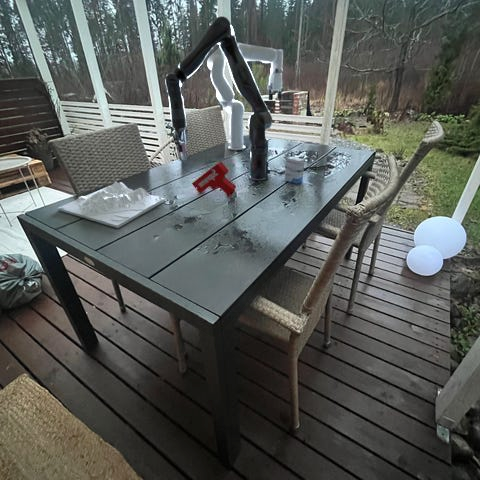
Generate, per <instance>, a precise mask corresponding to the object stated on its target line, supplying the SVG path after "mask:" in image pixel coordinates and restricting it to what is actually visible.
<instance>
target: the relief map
mask: <svg viewBox="0 0 480 480" xmlns="http://www.w3.org/2000/svg"><path fill="white" fill-rule="evenodd" d="M164 202H166V198H165V197H162V196H157V195H153V194H150V193H149V192H148V191H147V190H145V189H144V188H143V187H138V188H136V189H132V188H129V187H128V186H126V184H125V183H123V182H122V181H119V182H118V181H117V180H115V181H114V182H113V183H112V184H111V185H107V186H106V187H103V188H101V189H99V190H97V191H93V192H92V193H89V194H87V195H80V196H79V197H78V198H76V199H75V200H73V201H70V202H68V203H65V204H64V205H61V206H59V207H57V209H58V211H60V212H63V213H67V214H70V215H73V216H76V217H79V218H83V219H86V220H89V221H94V222H96V223H100V224H102V225H106V226H109V227H112V228H116V229H119V228H121V227H123V226H124V225H126V224H128V223H130V222H131V221H134V220H135V219H137V218H139V217H141V216H142V215H143V214H145V213H147V212H149V211H151V210H152V209H154V208H156V207H158V206H159V205H161V204H163V203H164Z"/></svg>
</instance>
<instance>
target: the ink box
mask: <svg viewBox="0 0 480 480" xmlns="http://www.w3.org/2000/svg"><path fill="white" fill-rule="evenodd" d="M305 162H306V159H304V158H299V157H294V156H290V157H289V156H288V157H286V158H285V169H284V171H285V172H284V181H285V182H289V183H293V184H295V185H298V184H300V183H302V182H303V180H304V173H305V171H304V170H305V169H304V167H305Z"/></svg>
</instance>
